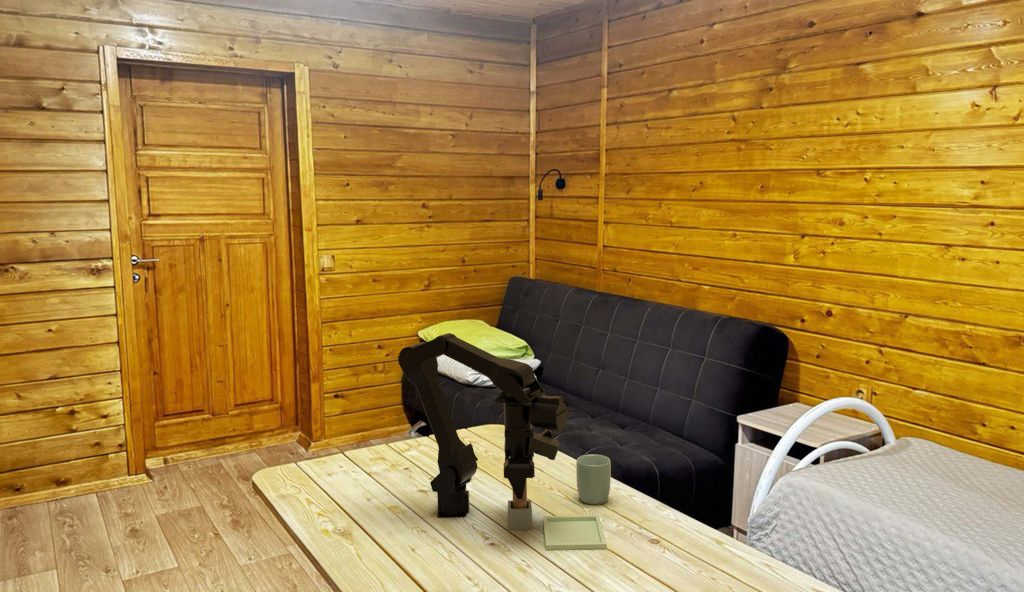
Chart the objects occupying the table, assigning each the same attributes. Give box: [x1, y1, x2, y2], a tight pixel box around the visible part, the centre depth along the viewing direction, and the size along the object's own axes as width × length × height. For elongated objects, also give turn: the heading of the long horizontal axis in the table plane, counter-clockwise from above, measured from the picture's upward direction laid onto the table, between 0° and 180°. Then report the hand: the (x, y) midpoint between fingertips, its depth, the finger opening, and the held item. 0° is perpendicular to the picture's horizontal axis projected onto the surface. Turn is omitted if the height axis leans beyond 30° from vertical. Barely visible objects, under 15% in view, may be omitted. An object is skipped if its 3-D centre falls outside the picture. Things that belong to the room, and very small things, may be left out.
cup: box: [575, 453, 612, 506], centre depth 180 cm, size 8×8×10 cm
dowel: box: [512, 479, 528, 509], centre depth 167 cm, size 3×3×10 cm
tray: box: [542, 514, 608, 551], centre depth 163 cm, size 12×14×2 cm
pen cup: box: [507, 499, 533, 532], centre depth 168 cm, size 5×5×5 cm
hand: (519, 495), depth 167 cm, fingers closed on dowel, 3 cm apart
